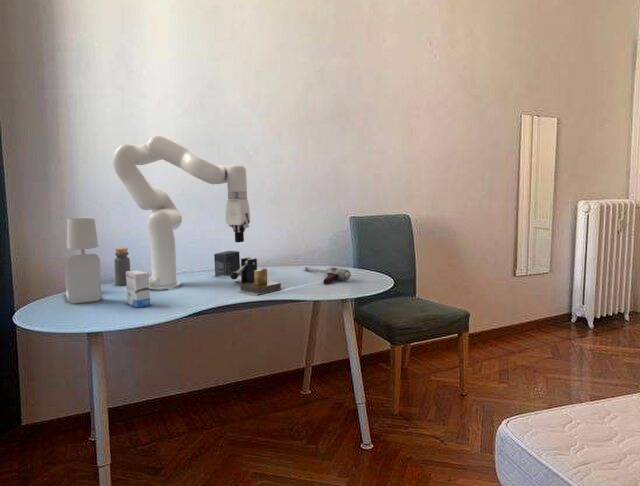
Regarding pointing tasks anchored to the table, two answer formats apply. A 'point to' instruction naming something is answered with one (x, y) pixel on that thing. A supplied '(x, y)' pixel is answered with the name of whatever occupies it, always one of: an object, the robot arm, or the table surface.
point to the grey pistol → (333, 274)
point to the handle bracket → (248, 270)
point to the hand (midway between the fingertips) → (239, 241)
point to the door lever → (235, 274)
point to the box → (226, 263)
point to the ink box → (138, 288)
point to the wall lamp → (82, 262)
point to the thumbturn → (260, 276)
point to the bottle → (121, 266)
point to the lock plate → (261, 287)
